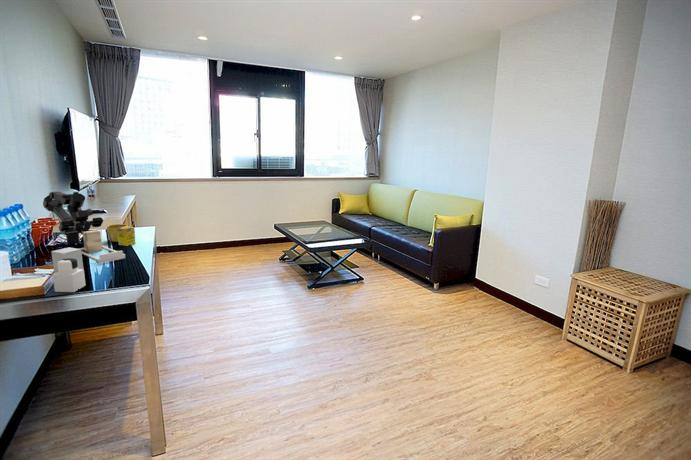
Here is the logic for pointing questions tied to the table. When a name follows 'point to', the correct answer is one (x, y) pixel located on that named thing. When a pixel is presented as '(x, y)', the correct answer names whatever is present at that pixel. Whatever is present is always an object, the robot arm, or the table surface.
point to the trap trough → (106, 255)
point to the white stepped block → (68, 276)
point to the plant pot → (114, 231)
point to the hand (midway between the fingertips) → (87, 236)
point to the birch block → (92, 241)
